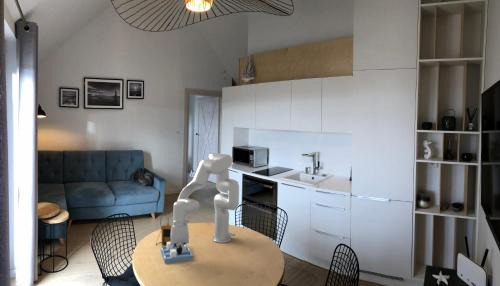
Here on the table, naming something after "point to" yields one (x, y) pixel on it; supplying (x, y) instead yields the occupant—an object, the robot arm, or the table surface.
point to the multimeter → (165, 232)
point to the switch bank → (182, 257)
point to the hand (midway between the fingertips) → (179, 253)
